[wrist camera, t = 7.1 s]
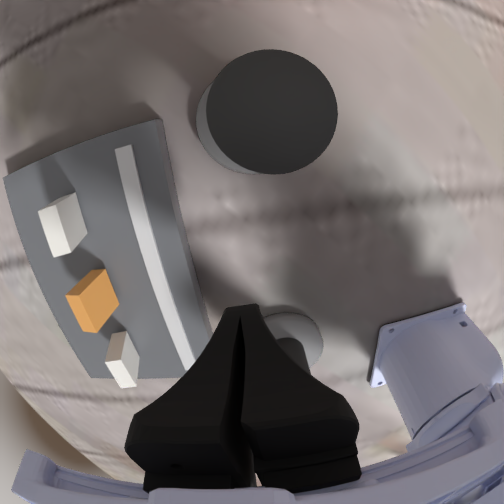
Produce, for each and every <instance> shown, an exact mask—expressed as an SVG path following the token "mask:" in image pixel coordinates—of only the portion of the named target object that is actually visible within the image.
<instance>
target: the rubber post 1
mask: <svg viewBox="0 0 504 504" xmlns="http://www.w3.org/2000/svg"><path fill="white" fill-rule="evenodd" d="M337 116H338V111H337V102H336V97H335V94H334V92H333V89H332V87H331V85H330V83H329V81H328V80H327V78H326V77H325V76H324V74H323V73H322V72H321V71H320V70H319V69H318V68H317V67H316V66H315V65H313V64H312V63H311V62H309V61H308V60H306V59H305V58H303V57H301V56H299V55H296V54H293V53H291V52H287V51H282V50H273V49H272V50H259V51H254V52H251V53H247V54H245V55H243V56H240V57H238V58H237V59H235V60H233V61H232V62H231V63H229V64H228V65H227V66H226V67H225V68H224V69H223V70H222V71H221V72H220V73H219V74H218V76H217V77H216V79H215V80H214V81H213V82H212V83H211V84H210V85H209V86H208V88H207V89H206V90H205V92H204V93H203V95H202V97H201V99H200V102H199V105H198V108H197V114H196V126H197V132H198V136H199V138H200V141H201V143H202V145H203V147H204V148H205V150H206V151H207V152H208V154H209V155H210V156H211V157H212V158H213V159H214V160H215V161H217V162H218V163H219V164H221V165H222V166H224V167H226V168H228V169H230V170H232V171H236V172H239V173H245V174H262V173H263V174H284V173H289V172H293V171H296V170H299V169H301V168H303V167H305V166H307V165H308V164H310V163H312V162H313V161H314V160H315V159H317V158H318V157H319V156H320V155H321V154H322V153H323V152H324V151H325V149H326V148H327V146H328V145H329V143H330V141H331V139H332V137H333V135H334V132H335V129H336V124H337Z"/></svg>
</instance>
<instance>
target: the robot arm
mask: <svg viewBox="0 0 504 504" xmlns="http://www.w3.org/2000/svg"><path fill="white" fill-rule="evenodd" d="M465 310H466V304H465V303H464V302H462V303H459V304H456V305H453V306H450V307H447V308H444V309H440V310H437V311H434V312H431V313H427V314H424V315H421V316H417V317H414V318H410V319H406V320H403V321H399V322H395V323H391V324H387V325H384V326H382V327H381V329H380V331H379V337H378V343H377V349H376V354H375V360H374V365H373V370H372V375H371V380H370V386H371V387H372V388H374V387H378V386H381V385H385V384H387V385H388V387H389V390H390V392H391V394H392V396H393V398H394V400H395V402H396V405H397V407H398V409H399V411H400V413H401V416H402V418H403V420H404V422H405V425H406V427H407V429H408V432H409V434H410V436H411V439H412V441H411V442H410V443H409V444H408V445H406V448H407V451H408V452H407V453H405V454H402V455H399V456H397V457H394V458H391V459H388V460H385V461H382V462H379V463H376V464H373V465H369V466H366V467H362V468H360V464H359V461H358V458H357V454H358V450H357V447H356V443H355V442H356V439H357V435H358V432H359V422H358V419H357V417H356V415H355V413H354V411H353V410H352V408H351V406H350V405H349V403H348V402H347V400H346V399H345V398H344V396H343V395H341V394H339V393H337V392H336V391H334V390H332V389H330V388H329V387H327V386H326V385H324V384H323V383H321V382H320V381H318V380H317V379H315V378H314V377H313V376H312V375H310V374H309V373H308V372H307V371H306V370H304V369H303V368H302V367H301V366H300V365H299V364H298V363H296V362H295V361H294V360H293V359H292V358H291V357H290V355H289V354H288V353H287V352H286V351H285V350H284V349H283V348H282V346H281V345H280V344H279V343H278V341H277V340H276V339H275V337H274V336H273V334H272V333H271V331H270V330H269V328H268V326H267V325H266V323H265V321H264V319H263V317H262V315H261V313H260V309H259V305H257V304H250V305H243V306H236V307H228V308H226V309H225V311H224V313H223V316H222V318H221V320H220V322H219V324H218V326H217V328H216V330H215V332H214V333H213V335H212V337H211V339H210V341H209V342H208V344H207V345H206V347H205V348H204V350H203V351H202V353H201V354H200V356H199V357H198V359H197V360H196V361H195V362H194V364H193V365H192V366H191V367H190V369H189V370H188V371H187V372H186V373H185V374H184V375H183V376H182V377H181V379H180V380H179V381H178V382H177V383H176V384H175V385H174V386H172V387H171V388H170V389H169V390H168V391H167V392H166V393H164V394H163V395H162V396H161V397H159V398H158V399H157V400H155V401H154V402H153V403H151V404H150V405H148V406H147V407H145V408H144V409H142V410H141V411H139V412H137V413H136V414H134V416H133V419H132V422H131V424H130V427H129V431H128V435H127V439H126V443H125V447H124V448H125V452H126V453H127V454H128V455H129V457H130V458H131V459H132V460H133V461H134V462H135V463H137V464H138V465H139V466H140V467H141V468H142V469H143V470H144V471H146V472H145V477H144V483H143V484H139V483H132V482H125V481H120V480H114V479H108V478H104V477H99V476H95V475H91V474H87V473H82V472H79V471H75V470H71V469H68V468H64V467H61V466H58V465H56V464H55V463H54V462H53V461H52V460H51V459H50V458H48V457H46V456H45V455H42V454H40V453H37V452H34V451H31V450H28V449H26V451H25V454H24V456H23V459H22V461H21V464H20V466H19V469H18V472H17V475H16V477H15V480H14V483H13V486H12V489H11V490H12V492H13V493H15V494H17V495H18V496H19V497H21V498H23V499H24V500H26V501H27V502H29V503H31V504H504V383H502V381H503V365H502V360H501V357H500V355H499V353H498V351H497V349H496V348H495V347H494V346H493V344H492V343H491V342H490V341H489V340H488V338H487V337H486V336H485V335H484V334H483V333H482V331H481V330H480V329H479V328H478V327H477V326H476V325H475V324H474V322H473V321H472V320H471V319H470V318H469V317H468V316H467V315H466V314H465ZM390 329H391V330H390ZM255 473H256V474H257V476H258V478H259V480H260V482H261V484H262V486H259V487H257V484H256V475H255Z"/></svg>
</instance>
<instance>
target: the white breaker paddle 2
mask: <svg viewBox="0 0 504 504" xmlns="http://www.w3.org/2000/svg"><path fill="white" fill-rule="evenodd" d="M139 359H140V357H139V355H138V353H137V351H136V349H135V347H134V345H133V343H132V341H131V339H130V337H129V335H128V333H127V331H124V332H118V333H113V334H112V335H111V339H110V343H109V347H108V351H107V355H106V359H105V364H106V365H107V367H108V368H109V370H110V372H111V373H112V375H113V376H114V378H115V380H116V381H117V383H118V384H119V386H120V387H121V388H128V387H135V386H137V377H138V368H139Z"/></svg>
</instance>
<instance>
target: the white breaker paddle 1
mask: <svg viewBox="0 0 504 504" xmlns="http://www.w3.org/2000/svg"><path fill="white" fill-rule="evenodd" d="M38 214H39V217H40V220H41V223H42V226H43V229H44V232H45V235H46V238H47V241H48V244H49V247H50V249H51V252H52V255H53V257H58V256H61V255H65V254H68V253H71V252H72V251H73V250H74V249H75V248H76V246H77V245H78V244H79V243H80V242H81V240H82V239H83V238H84V237H85V236H86V235H87V229H86V226H85V223H84V220H83V216H82V213H81V210H80V206H79V203H78V199H77V195H76V192H75V193H72V194H69V195H66V196H63V197H60V198H58V199H57V200H55V201H53V202H52V203H50V204H48V205H47V206H45V207H44V208H42V209H40V210H39V211H38Z"/></svg>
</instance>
